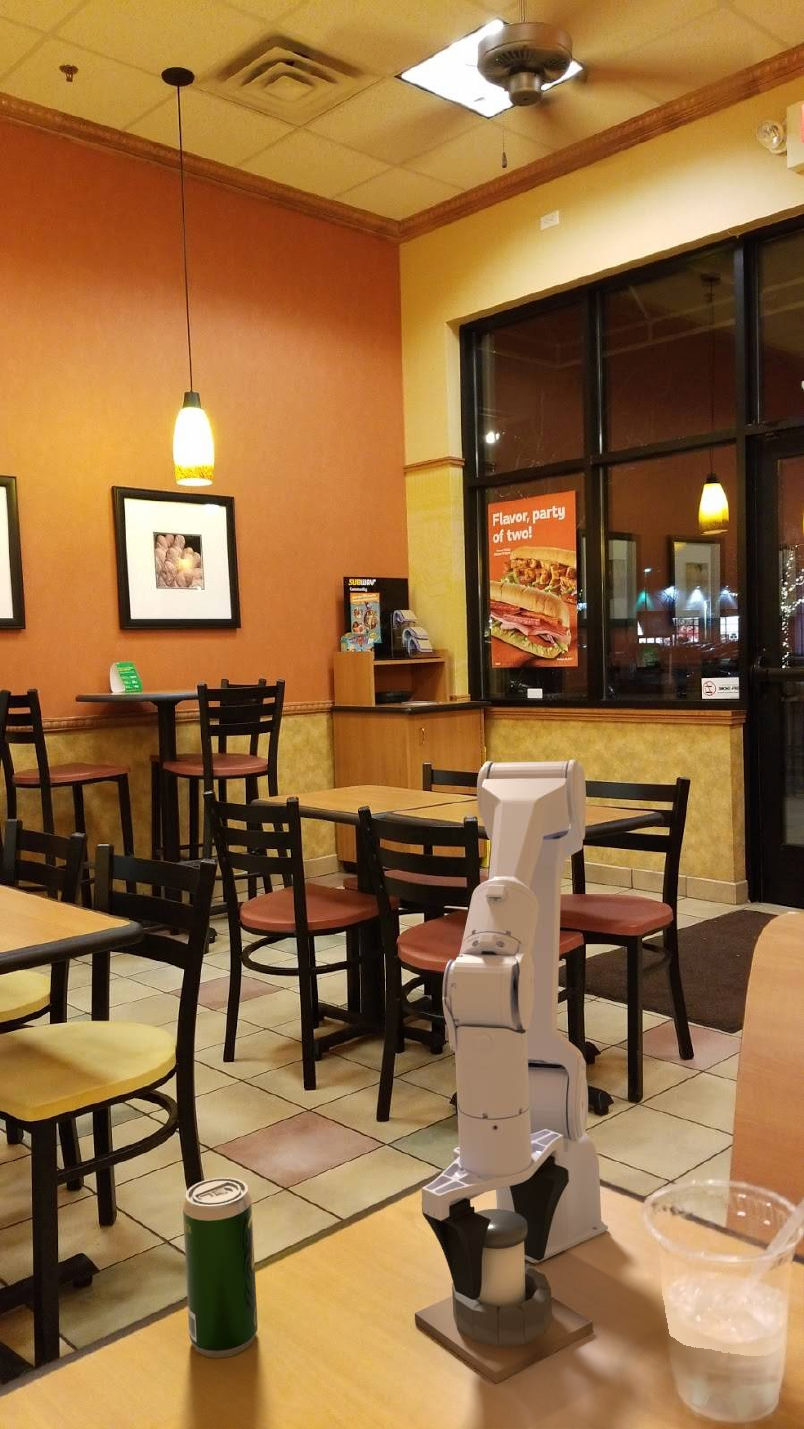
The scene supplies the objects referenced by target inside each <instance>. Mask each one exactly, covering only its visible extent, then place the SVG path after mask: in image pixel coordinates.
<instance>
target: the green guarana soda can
mask: <svg viewBox="0 0 804 1429" xmlns="http://www.w3.org/2000/svg"><path fill="white" fill-rule="evenodd" d="M184 1199H185V1202H184V1204H183V1208H182V1214H183V1215H182V1216H183V1236H184V1237H183V1239H184V1252H185V1253H184V1254H185V1255H184V1256H185V1257H184V1258H185V1274H186V1293H187V1294H186V1295H187V1309H188V1310H187V1311H188V1312H187V1313H188V1315H187V1316H188V1329H189V1330H188V1331H189V1335H188V1336H189V1339H190V1341H191V1343H192V1345H193V1347H194V1348H195V1351H196V1352H197V1353H199V1354H200V1355H201V1356H204V1357H206V1358H214V1359H215V1358H216V1359H222V1358H228V1357H232V1356H236V1355H238V1354H240V1353H242V1352H244V1351H246V1350H247V1349H248V1348H249V1347H250V1346H251V1345H252V1343H253V1342H254V1340H255V1338H256V1335H257V1332H258V1325H259V1324H258V1306H257V1304H258V1302H257V1288H256V1286H257V1285H256V1267H255V1265H256V1264H255V1246H254V1227H253V1207H252V1197H251V1196H250V1194H249V1185H248V1184H247V1183H246V1182H244V1181H243V1180H242V1179H238V1178H234V1177H213V1178H209V1179H205V1180H202V1181H199V1182H197V1183H195V1184H193V1185H192V1186H191V1187H189V1188H188V1189H187V1190H186V1192H185V1198H184Z"/></svg>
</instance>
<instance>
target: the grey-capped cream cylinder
mask: <svg viewBox="0 0 804 1429" xmlns="http://www.w3.org/2000/svg"><path fill="white" fill-rule="evenodd" d="M475 1213H477V1214H479V1215H482V1216H484V1217H486V1218H488V1219H490V1220H491V1222H490V1224H489V1227H488V1229H487V1233H486V1237H485V1241H484V1246H483V1253H482V1286H481V1292H480V1297H478V1298H477V1299H475V1300H476V1301H477V1302H479V1303H480V1304H485V1305H490V1306H495V1307H505V1306H515V1305H519V1304H521V1303H523V1302H525V1301H526V1295H525V1262H526V1261H525V1260H526V1259H524V1240H525V1239H526V1238H527V1235H528V1229H527V1221H526V1220H525V1218H524V1217H522V1216H521V1215H520V1214H518V1213H515V1212H513V1211H509V1210H503V1209H497V1208H489V1209H488V1208H487V1209H482V1210H479V1211H476V1212H475Z"/></svg>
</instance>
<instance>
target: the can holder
mask: <svg viewBox="0 0 804 1429" xmlns="http://www.w3.org/2000/svg"><path fill="white" fill-rule="evenodd" d="M451 1291H452V1295H451V1296H449V1297H447V1298H444V1299H442V1300H439V1301H438V1302H435V1303H434V1304H431V1305H429V1306H427V1307H425V1308H423V1309H420V1310H418V1311H416V1312H415V1313H414V1323H415V1324H417V1326H419V1327H420V1328H421V1329H422V1330H424V1331H425V1332H427V1333H428V1334H429V1335H431V1336H432V1337H434V1339H436V1340H438V1341H439V1342H440V1343H441V1344H443V1345H444V1346H445V1347H447V1348H448V1349H449V1350H451V1351H452V1352H454V1353H455V1354H456V1355H457V1356H458V1357H460V1358H462V1359H463V1360H464V1361H465V1362H466V1363H468V1364H469V1365H471V1366H472V1367H473V1368H475V1369H476V1370H477V1371H479V1373H481V1374H482V1375H484V1376H485V1377H487V1378H488V1379H489V1380H491V1381H492V1382H493V1383H495V1384H498V1383H499V1382H501V1381H504V1380H506V1379H507V1378H509V1377H511V1376H513V1375H515V1374H516V1373H517V1374H518V1373H519V1372H520V1371H522V1370H524V1369H526V1368H527V1367H529V1366H532V1365H534V1364H535V1363H537V1362H539V1361H541V1360H544V1359H545V1358H546V1357H548V1356H551V1355H553V1354H554V1353H557V1351H559V1350H561V1349H563V1348H565V1347H567V1346H569V1345H571V1344H572V1343H575V1342H576V1341H578V1340H580V1339H582V1338H584V1337H585V1336H588V1335H589V1334H591V1333H593V1332H594V1328H593V1327H594V1324H593V1322H594V1321H592V1320H590V1319H589V1318H587V1317H586V1316H585V1315H582V1314H581V1313H579V1312H577V1310H574V1309H573V1308H571V1307H569V1306H567V1305H566V1304H565V1303H563V1302H561V1301H560V1300H559V1299H556V1298H555V1297H554V1296H552V1288H551V1285H550V1283H549V1281H548V1278H547V1277H546V1275H545V1274H544V1273H543V1272H541V1271H539V1270H537V1269H536V1268H534V1267H533V1266H531V1265H529V1264H525V1295H526V1301H525V1302H523V1303H521V1304H519V1305H515V1306H505V1307H495V1306H490V1305H485V1304H480V1303H479V1302H477V1301H476V1300H471V1299H469V1298H468V1297H466V1296H464V1295H462V1294H460V1293H458V1292H456V1291H455V1287H454V1284H453V1283H452V1284H451Z"/></svg>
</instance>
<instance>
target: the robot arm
mask: <svg viewBox="0 0 804 1429" xmlns="http://www.w3.org/2000/svg"><path fill="white" fill-rule="evenodd" d="M586 786H587V785H586V775H585V770H584V767H583V766H582V764H580V762H579V761H578V760H577V759H570V760H567V761H565V760H563V761H562V760H560V761H559V760H557V761H520V762H519V761H518V762H514V761H513V762H511V761H509V762H494V761H493V760H486V762H485V763H483V766H481V768H480V769H479V772H478V776H477V782H476V801H477V809H478V814H479V817H480V818H481V821H482V823H483V827H484V829H485V833H486V836H487V838H488V839H489V841H490V844H491V845H490V846H491V848H490V860H489V869H488V870H489V871H488V880H485V881H483V882H481V883H480V884H479V885H477V886H476V888H474V890H473V891H472V892H473V893H472V894H471V899H470V904H469V909H468V913H467V919H466V923H465V928H464V932H463V936H462V941H461V947H460V950H459V954H458V956H457V957H456V959H455V960H454V959H449V961H448V962H447V964H446V966H445V970H444V973H443V978H442V979H443V981H442V1009H443V1010H442V1011H443V1016H444V1019H445V1023H446V1026H447V1031H448V1045H449V1048H450V1051H453V1052H454V1056H455V1077H456V1078H455V1081H456V1102H457V1103H456V1104H457V1126H458V1131H457V1132H458V1147H457V1146H456V1147H455V1148H454V1149H453V1159H454V1161H453V1162H451V1164H450V1165H449V1166H448V1167H447V1168H446V1169H444V1170H443V1171H442V1172H441V1173H440V1175H439V1176H438V1177H436V1178H435V1179H434V1180H433V1181H432V1182H430V1183H429V1184H427V1185H425V1186H422V1188H421V1214H422V1215H423V1217H424V1218H425V1220H426V1222H427V1224H429V1226H430V1228H431V1229H432V1231H433V1233H434V1235H435V1237H436V1239H437V1241H438V1243H439V1245H440V1247H441V1249H442V1253H443V1254H444V1257H445V1260H446V1262H447V1265H448V1268H449V1272H450V1276H451V1279H452V1284H454V1287H455V1291H456V1292H458V1293H460V1294H462V1295H464V1296H466V1297H468V1298H469V1299H471V1300H475V1299H477V1298H478V1297H480V1292H481V1286H482V1253H483V1246H484V1241H485V1237H486V1233H487V1229H488V1227H489V1224H490V1222H491V1220H490V1219H488V1218H486V1217H484V1216H482V1215H479V1214H477V1213H475V1207H474V1206H472V1205H471V1200H473V1199H474V1198H476V1197H479V1196H480V1195H484V1193H487V1192H492V1191H495V1196H496V1197H495V1198H496V1199H495V1200H496V1209H503V1210H509V1211H513V1212H515V1213H518V1214H520V1215H521V1216H522V1217H524V1218H525V1220H526V1221H527V1229H528V1235H527V1238H526V1239H525V1240H524V1259H525V1260H527V1262H530V1263H532V1264H538V1263H540V1262H542V1261H544V1260H547V1259H549V1258H551V1257H553V1256H555V1255H557V1254H559V1253H562V1252H563V1251H566V1250H568V1249H570V1248H572V1247H574V1246H577V1245H579V1244H581V1243H583V1242H585V1241H587V1240H590V1239H592V1238H594V1237H596V1236H598V1235H600V1234H602V1233H604V1232H606V1231H608V1230H609V1225H608V1224H607V1223H606V1222H605V1221H602V1208H601V1206H602V1203H601V1184H600V1183H601V1179H600V1176H601V1175H600V1160H599V1156H598V1152H597V1149H596V1147H595V1145H594V1143H593V1141H592V1139H591V1138H590V1135H588V1134H587V1133H586V1130H587V1127H588V1126H587V1125H588V1115H589V1114H588V1113H589V1090H588V1089H589V1088H588V1081H587V1062H586V1060H585V1058H584V1055H583V1053H582V1051H581V1050H580V1049H579V1048H578V1047H577V1046H576V1045H575V1044H573V1043H572V1042H571V1041H569V1040H568V1039H567V1038H566V1036H563V1035H562V1034H561V1033H560V1032H559V1031H558V1008H559V1007H558V1006H559V1005H558V1004H559V1003H558V1002H559V1001H558V1000H559V970H560V938H561V935H560V933H561V931H560V929H561V897H562V895H561V894H562V880H563V874H564V869H565V865H566V861H567V858H569V857H571V856H573V855H574V854H575V853H578V852H579V851H581V850H582V849H583V844H584V843H583V842H584V841H583V840H584V839H585V838H586V837H585V836H586V807H587V806H586V803H587V802H586V801H587V790H586ZM529 1063H531V1064H532V1063H533V1064H544V1065H545V1064H546V1065H547V1064H548V1065H559V1066H563V1067H564V1068H553V1067H538V1066H537V1067H536V1066H529Z"/></svg>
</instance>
